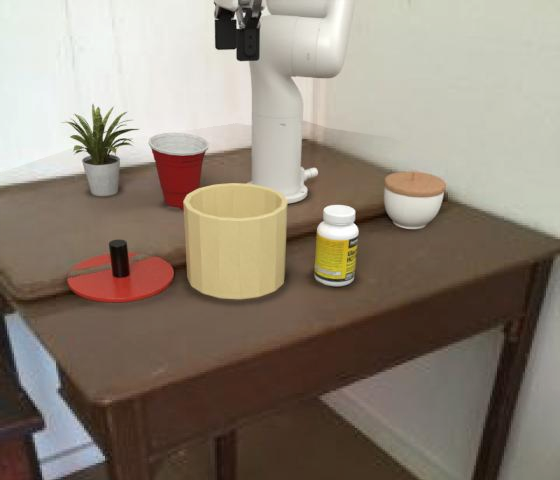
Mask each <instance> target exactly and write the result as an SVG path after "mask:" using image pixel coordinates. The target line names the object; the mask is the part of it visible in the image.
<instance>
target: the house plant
mask: <svg viewBox="0 0 560 480" xmlns="http://www.w3.org/2000/svg"><path fill="white" fill-rule="evenodd" d="M91 105H92V106H91V117H92V129H91V126H90V125H89V123H88V121H87V120H86V119H85V118H84V117H82V116H81V115H78V114H76V113H74V116H75V117H76V118H77V120H78V122H79V123H77V122H76V120H74V119H73V118H70V120H71V122H70V121H67V120H65V121H64V122H63V121H62V122H61V124H63V123H66V124H68V125H70V126H71V127H72V128H73V129H74V130H75V131H77V133H78V134H80V135H78V134H72V135H70V136H69V138H71V139H73V140H75V141H78V142H79V143H81V144H83V146H82V145H77V144H76V145H74V147H73V150H72V152H74V156H75V155H76V154H78V153H82V152H86V153H88V156H85V157H83V158H82V160H81V163H82V166H83V170H84V173H85V177H86V180H87V183H88V187H89V190H90V193H91V194H92V195H93V196H98V197H110V196H113V195H116V194H117V193H119V183H120V169H121V167H120V166H121V158H120V157H119V156H117V149H118V148H119V147H123V146H131V147H133V144H131V143H133V141H132V139H131V138H127V137H124V138H123V137H122V138H118V139H116V138H117V137H119V136H120V135H122V134H125V133H128V132H131V131H139V130H140V128H125V129H124V128H123V129H120V130H118V129H119V128H120V127H123V126H126V124H122V123H126V122H131V121H132V119H127V120H126V119H125V120H122V121H121V122H120V120H121V118H122V117H123V116H125V115H126V114H127V113H128V111H125V112H123V113H120V114H119V115H118V116H117V117H116V118H115V119H114V120H113V121H112V123H111V124H110V125H109V127H108V129H107V130H106V131H105V128H106V126H107V123H108V120H109V118H110V115H111V113H112V112H113V110H114V106H112V107H111V108H110V109H109V110H108V112H107V113H106V115H105V116H104V118H103V116H102V113H101V108H100V106H97V108H96V109H95V105H94V104H91ZM80 125H81V126H82V127H81V126H80ZM104 134H105V137H104ZM115 139H116V140H115ZM128 141H129V142H128ZM118 142H119V143H118ZM130 142H131V143H130ZM110 153H111V154H110Z"/></svg>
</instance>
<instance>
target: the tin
mask: <svg viewBox="0 0 560 480" xmlns="http://www.w3.org/2000/svg"><path fill="white" fill-rule="evenodd" d="M287 202H288V200H287V199H286V198H285V196H284V195H283V194H282V193H280V192H278V191H276V190H273V189H271V188H268V187H264V186H259V185H254V184H247V183H241V182H228V183H216V184H211V185H207V186H202V187H199V188H198V189H196V190H194V191H193V192H191V193H189V194H187V196H186V197H185V199H184V201H183V205H184V210H183V222H184V240H185V259H186V260H185V261H186V277H187V278H186V279H187V280H188V282H189V284H190V286H191V288H193V289H195V290H196V291H198V292H200V293H201V294H203V295H207V296H211V297H214V298H217V299H226V300H227V299H228V300H229V299H230V300H246V299H254V298H259V297H263V296H266V295H268V294H271V293H273V292H274V293H275V292H276V291H277V290H278V289H279V288H280V287H281V286H282V285H284V283H285V278H286V261H287V260H286V256H287V230H288V229H287V228H288V204H287Z"/></svg>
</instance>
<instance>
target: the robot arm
mask: <svg viewBox="0 0 560 480" xmlns="http://www.w3.org/2000/svg"><path fill="white" fill-rule="evenodd" d="M213 4H214V6H215V7H214V11H213V17H214V48H215V50H217V51H227V50H228V51H229V50H230V51H231V50H233V51H234V50H236V51H235V54H236V55H235V57H236V60H237V61H238V62H248V65H249V72H250V73H249V74H250V85H251V87H250V88H251V170H250V171H251V175H250V176H251V177H250V178H251V179H250V181H247V183H246V184H254V185H259V186H264V187H268V188H271V189H273V190H276V191H278V192H280V193H282V194H283V195H284V196H285V198H286V199H287V200H288V202H287V205H290V204H294V203H295V204H296V203H298V202H301V201H303V200H304V199H306V198H307V196H308V190H309V189H308V187H307V186H306V185H305V182H306V181H307V180H309V179H313V178H317V177H318V175H319V171H318V168H316V167H310V168H307V169H305V168H304V167H303V166H302V147H303V146H302V145H303V144H302V143H303V121H304V99H303V96H302V94H301V91H300V89H299V88H298V85H297V84H296V83H295V81H294V80H293V78H296V77H297V78H298V77H300V78H311V79H312V78H314V79H333V78H336V77H337V76H338V75H339V74H340V73H341V71H342V69H343V67H344V64H345V61H346V56H347V50H348V45H349V39H350V36H351V35H350V34H351V29H352V24H353V18H354V12H355V6H356V0H213ZM265 8H267V11H268V13H269V14H268V15H263V16H262V14H263V13H262V12H263V11H264V10H265ZM235 15H236V18H235ZM237 27H238V28H237Z"/></svg>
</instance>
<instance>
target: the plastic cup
mask: <svg viewBox="0 0 560 480" xmlns="http://www.w3.org/2000/svg"><path fill="white" fill-rule="evenodd" d="M148 146H149V147H150V149H151V152H152V155H153V160H154V162H155V163H154V164H155V167H156V170H157V176H158V180H159V184H160V185H159V186H160V189H161V191H162V197H163V200H164V203H165V204H166V205H167V206H169V207H173V208H178V209H179V210H181V211H184V205H183V201H184V199H185V197H186V196H187V194H189V193H191V192H193V191H194V190H196V189H198V188H200V185H201V176H202V168H203V162H204V160H205V159H204V157H205V155H206V152H207V151H208V150H209V146H210V143H209V142H208V141H207V140H206V139H205V138H203V137H201V136H198V135H195V134H190V133H182V132H163V133H160V134H155V135H153V136H151V137H149V139H148Z"/></svg>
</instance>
